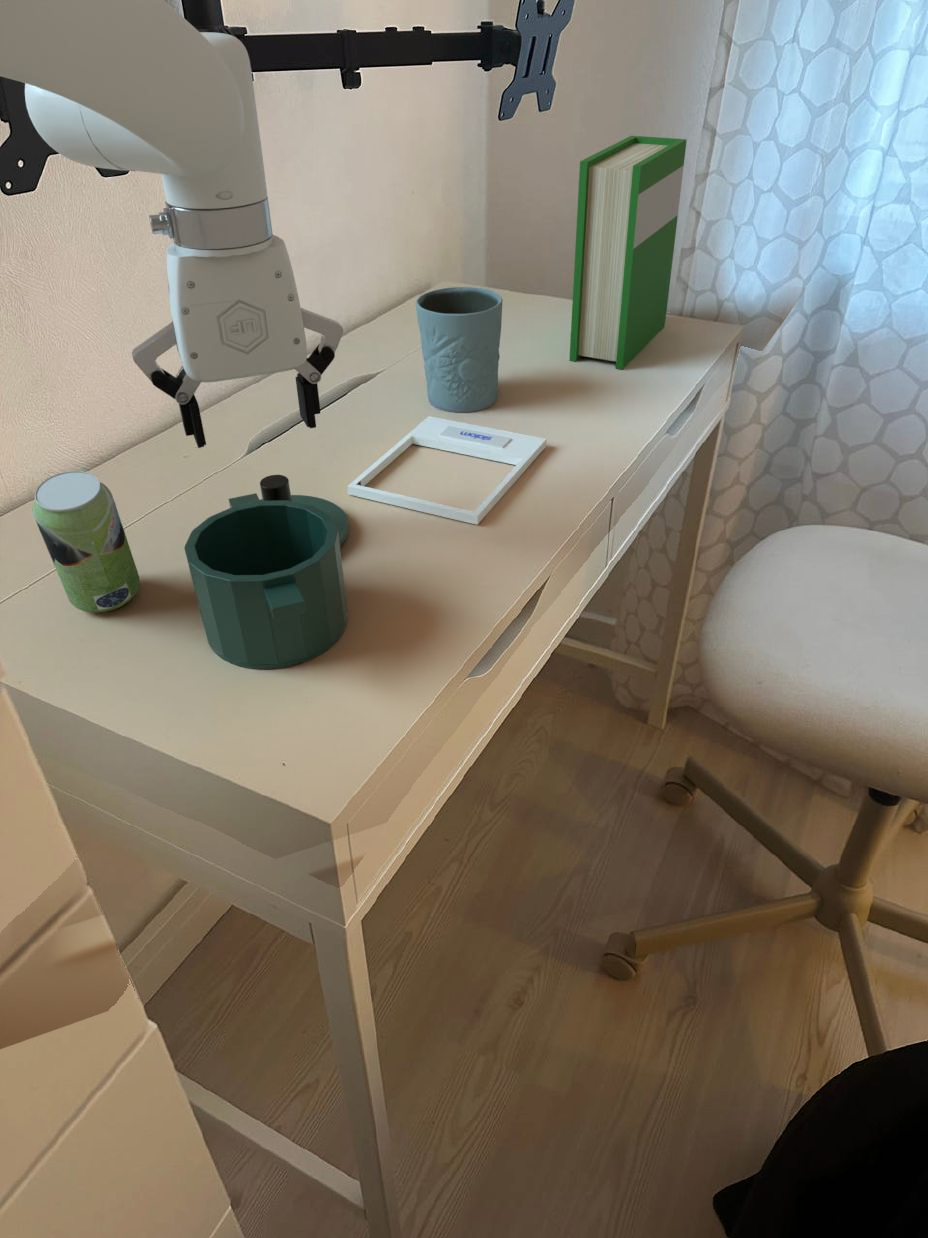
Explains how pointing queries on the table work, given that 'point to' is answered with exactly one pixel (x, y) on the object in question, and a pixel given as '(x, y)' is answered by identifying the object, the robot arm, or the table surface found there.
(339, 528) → the lid
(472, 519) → the photo frame
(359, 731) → the table surface
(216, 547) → the pot
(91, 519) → the beverage can
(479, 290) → the embossed blue cup
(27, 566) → the table surface
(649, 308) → the hardback book
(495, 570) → the table surface
